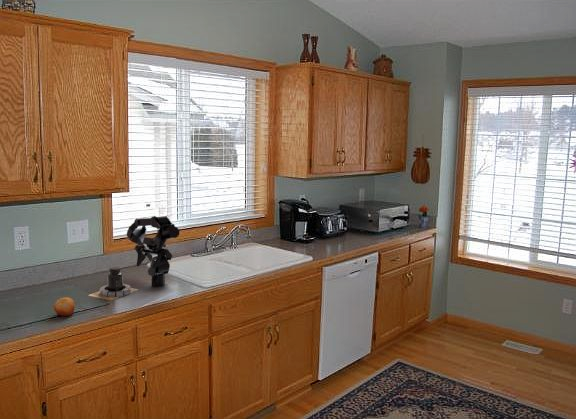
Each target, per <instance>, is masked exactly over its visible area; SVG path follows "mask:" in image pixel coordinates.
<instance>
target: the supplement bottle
mask: <svg viewBox="0 0 576 419" xmlns="http://www.w3.org/2000/svg"><path fill="white" fill-rule="evenodd" d="M108 271H109V273H108V275H107V276H106V277H107V285H108V291H119V290H123V284H124V276H123V273H122V272H121V267H119V266H112V267H109V270H108Z"/></svg>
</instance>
